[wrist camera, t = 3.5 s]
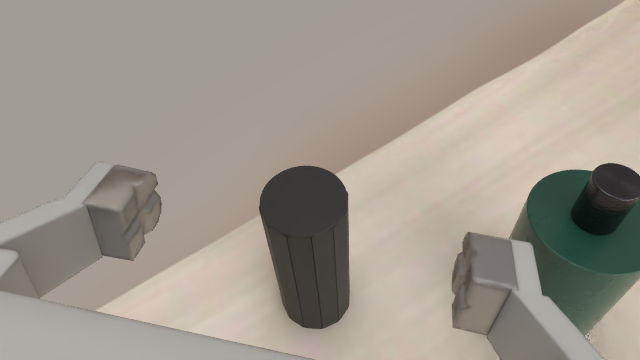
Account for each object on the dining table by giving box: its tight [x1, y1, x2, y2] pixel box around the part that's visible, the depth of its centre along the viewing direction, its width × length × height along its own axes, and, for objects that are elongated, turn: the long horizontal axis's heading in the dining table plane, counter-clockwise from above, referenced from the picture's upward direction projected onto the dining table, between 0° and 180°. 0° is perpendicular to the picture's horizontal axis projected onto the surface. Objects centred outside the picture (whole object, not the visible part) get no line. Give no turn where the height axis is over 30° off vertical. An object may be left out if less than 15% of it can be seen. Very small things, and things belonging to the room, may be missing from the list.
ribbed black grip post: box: [259, 166, 350, 329], centre depth 37 cm, size 6×6×14 cm
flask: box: [509, 163, 640, 337], centre depth 33 cm, size 8×8×18 cm
